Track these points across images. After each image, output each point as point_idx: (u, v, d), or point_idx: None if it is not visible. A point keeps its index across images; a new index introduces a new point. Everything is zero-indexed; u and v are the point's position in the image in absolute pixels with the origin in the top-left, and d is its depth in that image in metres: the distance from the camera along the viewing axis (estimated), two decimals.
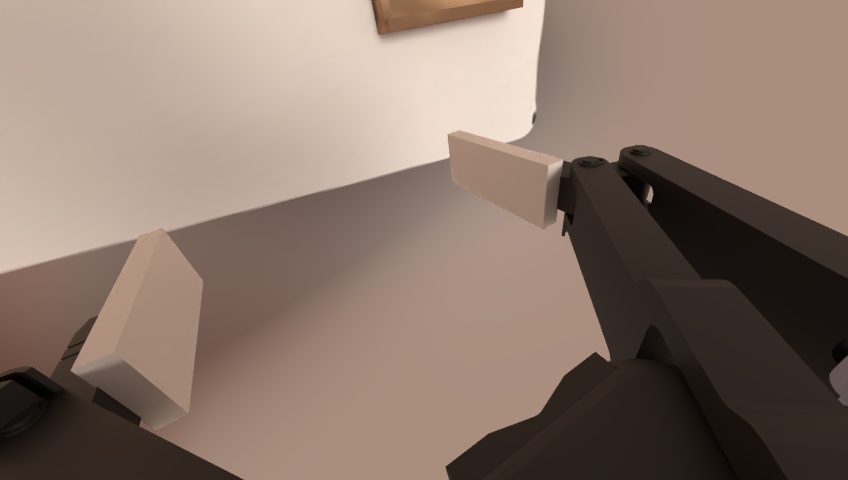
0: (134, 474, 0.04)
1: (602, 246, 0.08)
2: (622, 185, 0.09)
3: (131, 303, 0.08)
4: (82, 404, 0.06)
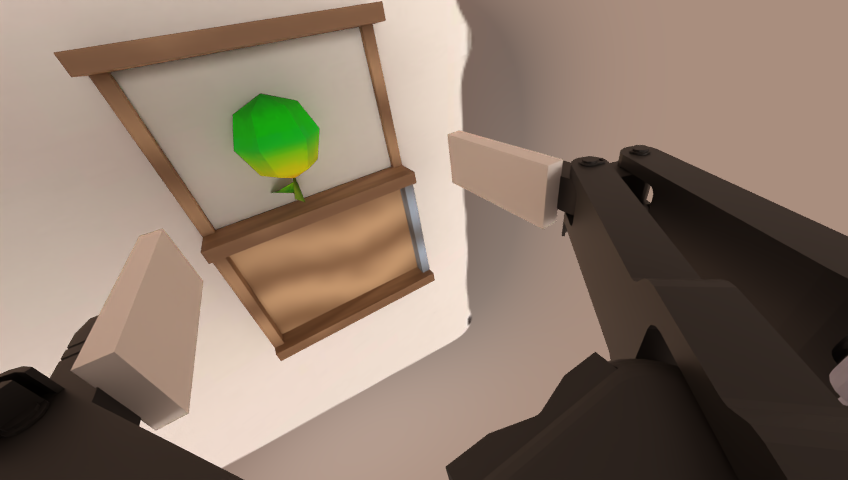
0: (134, 474, 0.04)
1: (602, 245, 0.08)
2: (622, 185, 0.09)
3: (131, 303, 0.08)
4: (82, 404, 0.06)
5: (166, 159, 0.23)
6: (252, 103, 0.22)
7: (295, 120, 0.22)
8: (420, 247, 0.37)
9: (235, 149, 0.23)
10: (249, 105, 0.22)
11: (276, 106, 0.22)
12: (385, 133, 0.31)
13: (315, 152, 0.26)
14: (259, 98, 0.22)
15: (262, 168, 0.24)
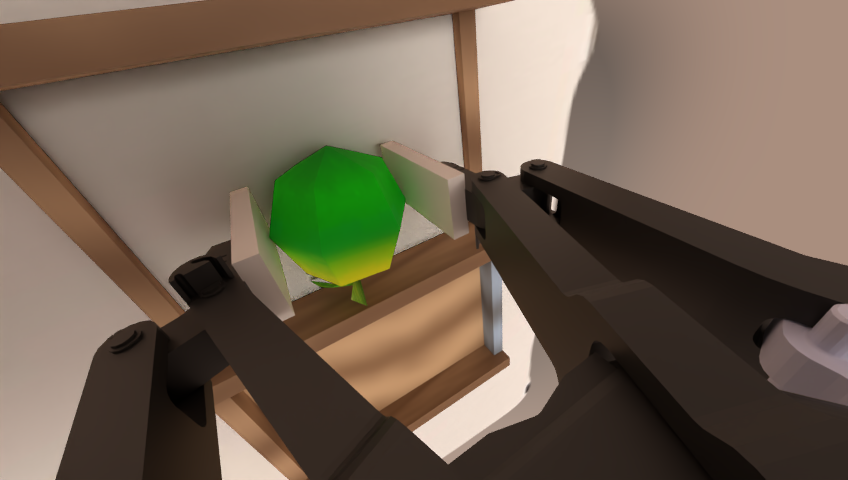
0: (271, 347, 0.06)
1: (522, 260, 0.08)
2: (522, 195, 0.10)
3: (252, 229, 0.10)
4: (244, 290, 0.08)
5: (120, 246, 0.13)
6: (313, 163, 0.12)
7: (386, 198, 0.13)
8: (496, 326, 0.27)
9: (273, 237, 0.13)
10: (307, 167, 0.12)
11: (357, 173, 0.12)
12: None
13: None
14: (326, 155, 0.13)
15: (315, 269, 0.14)
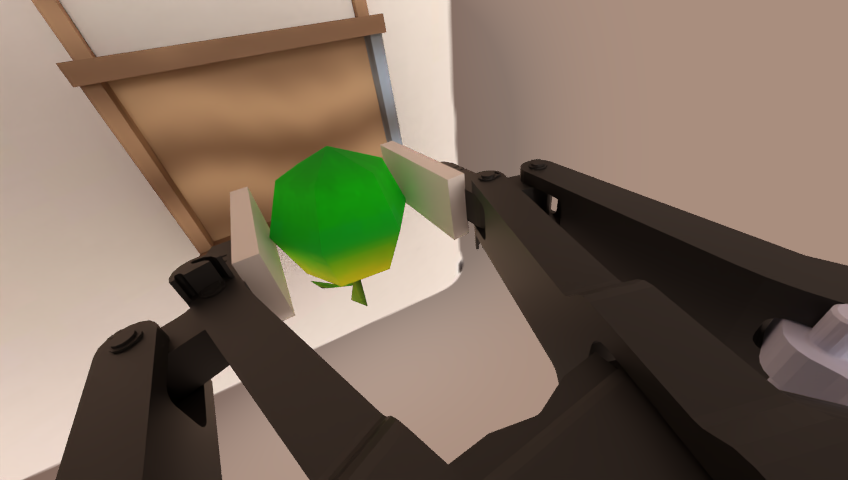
0: (271, 347, 0.06)
1: (523, 260, 0.08)
2: (522, 195, 0.10)
3: (252, 229, 0.10)
4: (244, 290, 0.08)
5: None
6: (313, 163, 0.12)
7: (386, 198, 0.13)
8: (396, 142, 0.30)
9: (273, 237, 0.13)
10: (307, 167, 0.12)
11: (358, 174, 0.12)
12: None
13: None
14: (326, 155, 0.13)
15: (315, 269, 0.14)
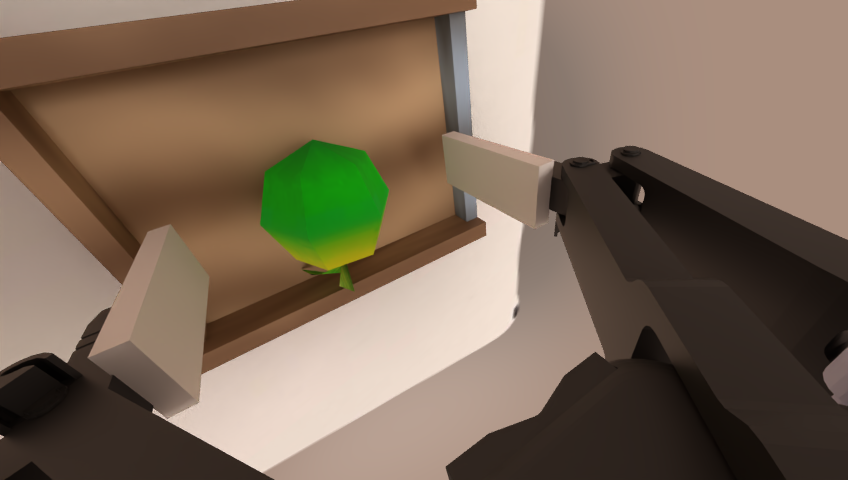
0: (148, 459, 0.05)
1: (595, 246, 0.08)
2: (613, 185, 0.09)
3: (143, 295, 0.08)
4: (99, 391, 0.06)
5: None
6: (300, 155, 0.13)
7: (368, 187, 0.14)
8: None
9: (263, 224, 0.14)
10: (295, 159, 0.13)
11: (341, 165, 0.13)
12: None
13: (380, 225, 0.17)
14: (312, 148, 0.14)
15: (303, 254, 0.15)
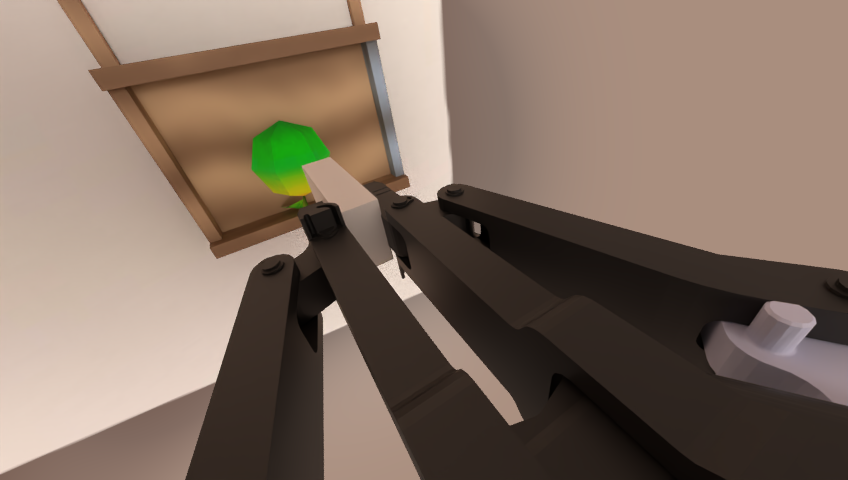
0: (367, 288, 0.07)
1: (458, 291, 0.07)
2: (441, 219, 0.09)
3: (341, 191, 0.12)
4: (351, 238, 0.09)
5: None
6: (272, 128, 0.24)
7: (309, 146, 0.25)
8: (391, 140, 0.32)
9: (253, 168, 0.25)
10: (269, 130, 0.24)
11: (293, 133, 0.24)
12: None
13: None
14: (278, 124, 0.25)
15: (276, 186, 0.26)
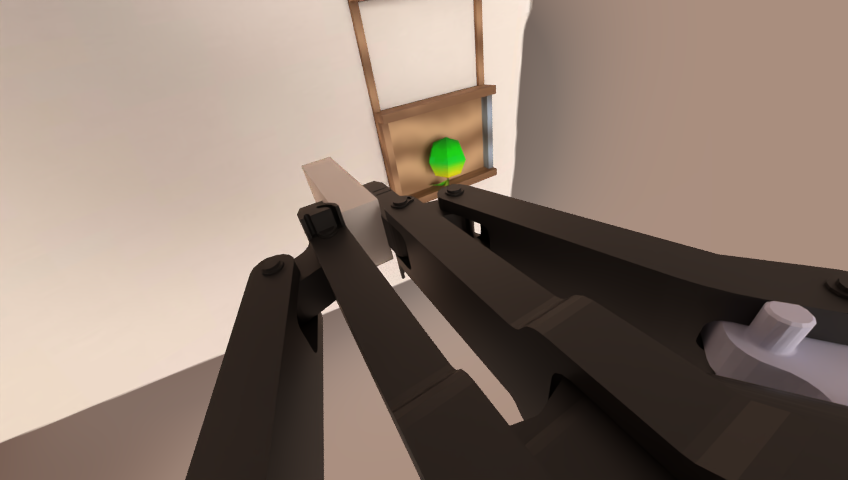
0: (367, 288, 0.07)
1: (458, 291, 0.07)
2: (441, 219, 0.09)
3: (340, 191, 0.12)
4: (351, 238, 0.09)
5: (368, 57, 0.41)
6: (443, 141, 0.47)
7: None
8: (489, 147, 0.55)
9: (430, 162, 0.48)
10: (442, 142, 0.47)
11: (455, 144, 0.47)
12: (477, 60, 0.48)
13: None
14: (446, 139, 0.47)
15: (441, 172, 0.48)
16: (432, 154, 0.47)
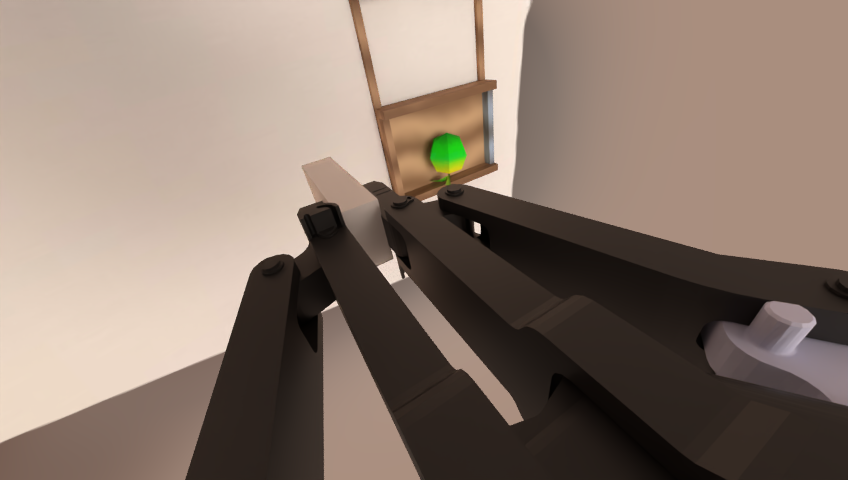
0: (368, 288, 0.07)
1: (458, 291, 0.07)
2: (441, 219, 0.09)
3: (341, 191, 0.12)
4: (351, 238, 0.09)
5: None
6: (444, 137, 0.47)
7: None
8: (490, 142, 0.55)
9: (431, 158, 0.48)
10: (443, 138, 0.47)
11: (456, 139, 0.47)
12: (478, 55, 0.48)
13: None
14: (447, 135, 0.47)
15: (442, 167, 0.48)
16: (433, 150, 0.48)
